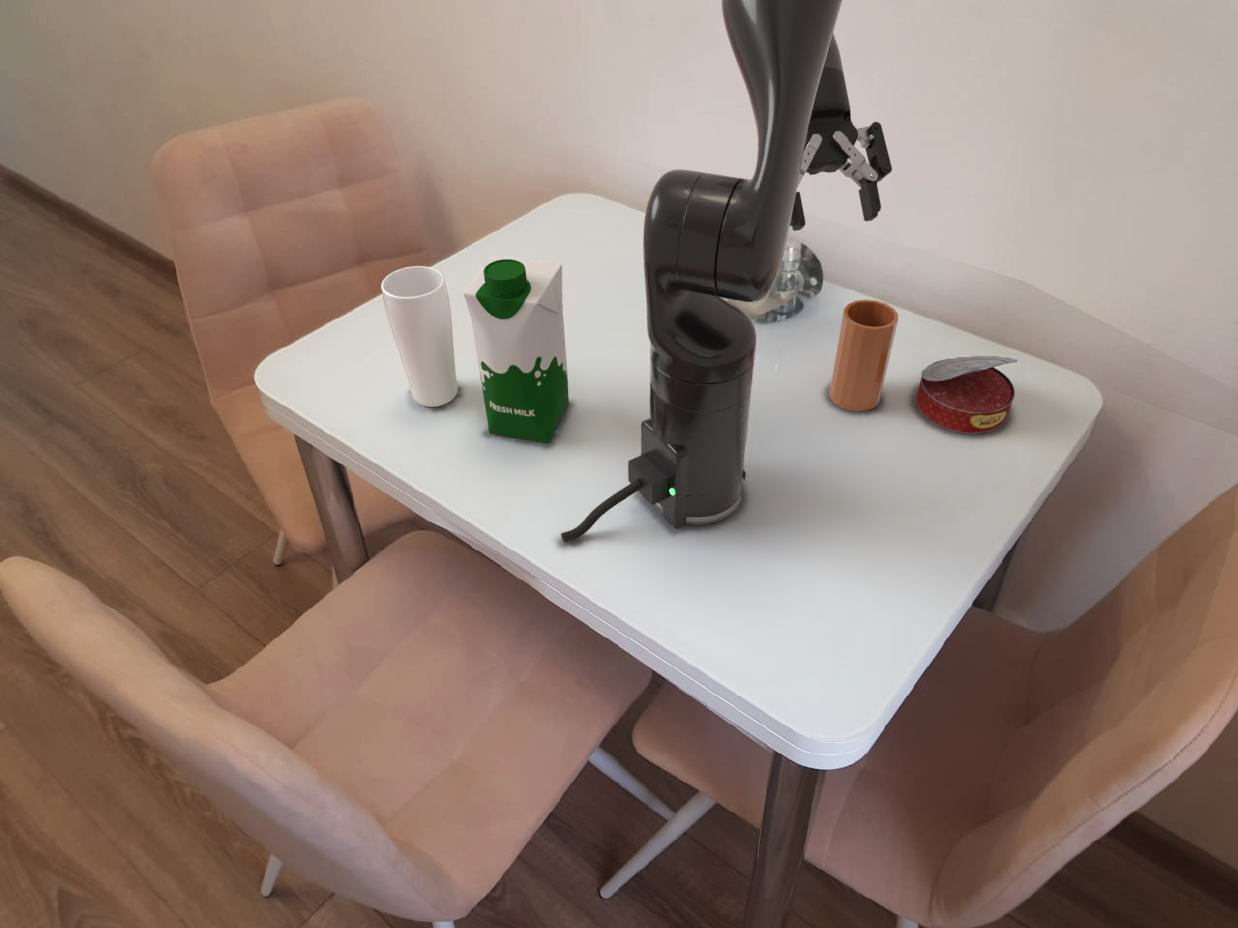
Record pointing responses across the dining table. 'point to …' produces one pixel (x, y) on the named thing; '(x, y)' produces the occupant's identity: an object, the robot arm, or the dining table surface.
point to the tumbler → (862, 354)
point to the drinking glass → (422, 332)
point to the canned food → (966, 394)
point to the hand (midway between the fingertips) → (835, 223)
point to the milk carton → (520, 345)
